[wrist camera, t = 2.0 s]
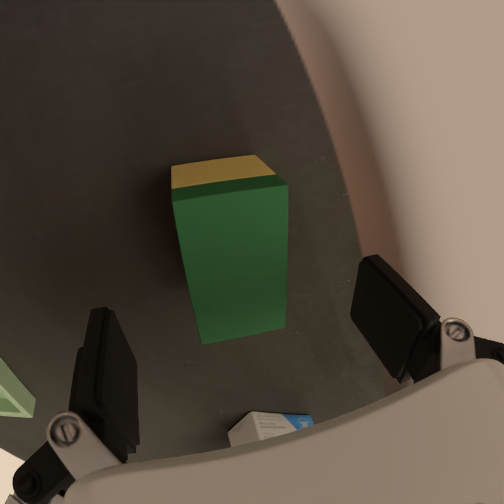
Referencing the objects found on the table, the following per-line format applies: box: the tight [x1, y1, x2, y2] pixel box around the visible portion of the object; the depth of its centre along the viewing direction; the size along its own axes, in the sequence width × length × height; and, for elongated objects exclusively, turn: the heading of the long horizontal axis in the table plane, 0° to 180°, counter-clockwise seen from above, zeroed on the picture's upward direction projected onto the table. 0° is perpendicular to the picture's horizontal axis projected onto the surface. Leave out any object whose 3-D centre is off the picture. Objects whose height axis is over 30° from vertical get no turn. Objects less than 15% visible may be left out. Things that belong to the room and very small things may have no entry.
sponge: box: [171, 155, 288, 345], centre depth 14 cm, size 7×4×4 cm, turn 3°
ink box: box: [228, 411, 314, 447], centre depth 23 cm, size 8×5×15 cm, turn 56°
